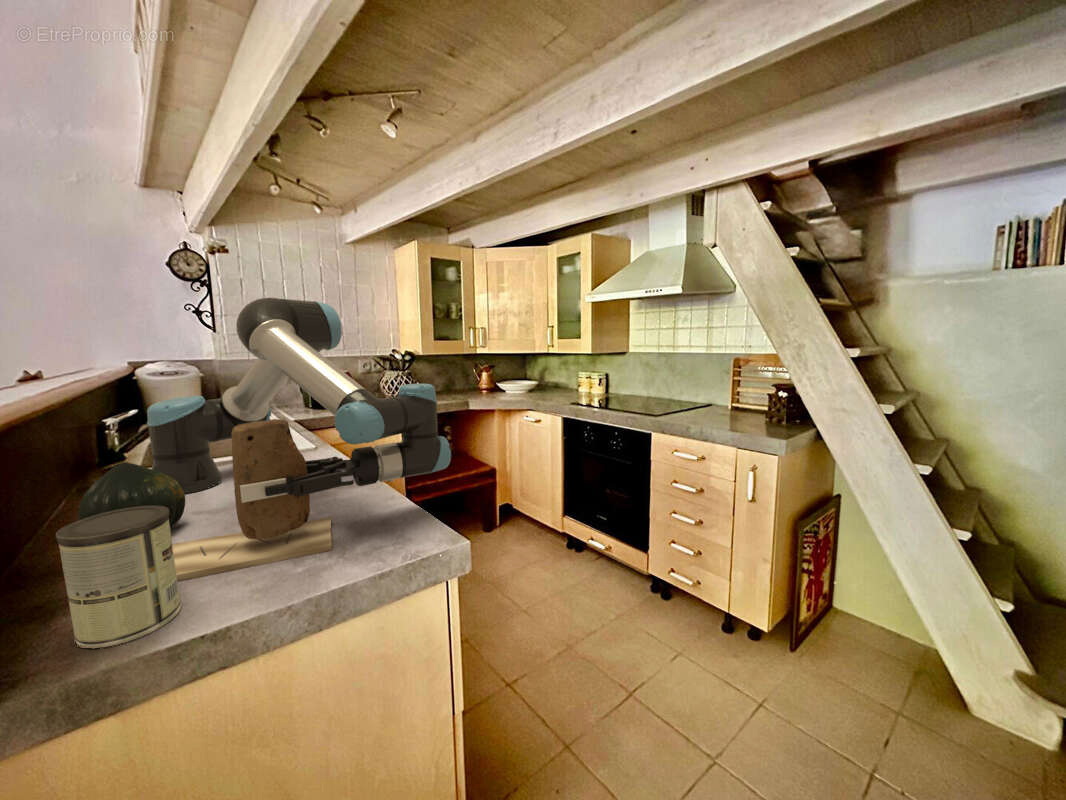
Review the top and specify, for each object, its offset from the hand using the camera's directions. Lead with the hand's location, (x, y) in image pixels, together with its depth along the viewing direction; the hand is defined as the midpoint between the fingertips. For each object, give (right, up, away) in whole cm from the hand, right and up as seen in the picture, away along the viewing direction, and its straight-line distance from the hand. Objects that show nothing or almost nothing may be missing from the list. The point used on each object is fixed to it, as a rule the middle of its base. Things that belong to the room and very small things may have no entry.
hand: (239, 487), depth 73 cm
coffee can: (-2, -14, -17) cm, 23 cm away
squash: (-27, -11, +10) cm, 31 cm away
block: (+4, -9, +4) cm, 10 cm away
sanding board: (-1, -12, +2) cm, 12 cm away
